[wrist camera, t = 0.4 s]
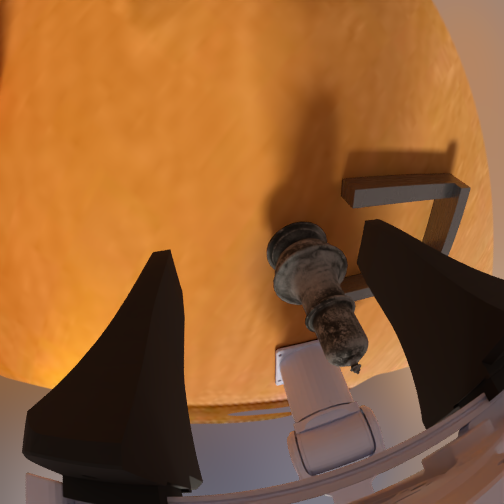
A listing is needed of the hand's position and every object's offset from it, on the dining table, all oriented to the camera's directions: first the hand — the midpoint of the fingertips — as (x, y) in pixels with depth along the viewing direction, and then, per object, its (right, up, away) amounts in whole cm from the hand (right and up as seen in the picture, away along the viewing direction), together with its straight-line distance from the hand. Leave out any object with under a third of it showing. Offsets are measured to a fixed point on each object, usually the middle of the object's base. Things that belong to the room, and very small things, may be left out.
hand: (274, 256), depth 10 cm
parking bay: (+12, +2, +15) cm, 19 cm away
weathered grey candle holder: (+3, +1, +14) cm, 14 cm away
